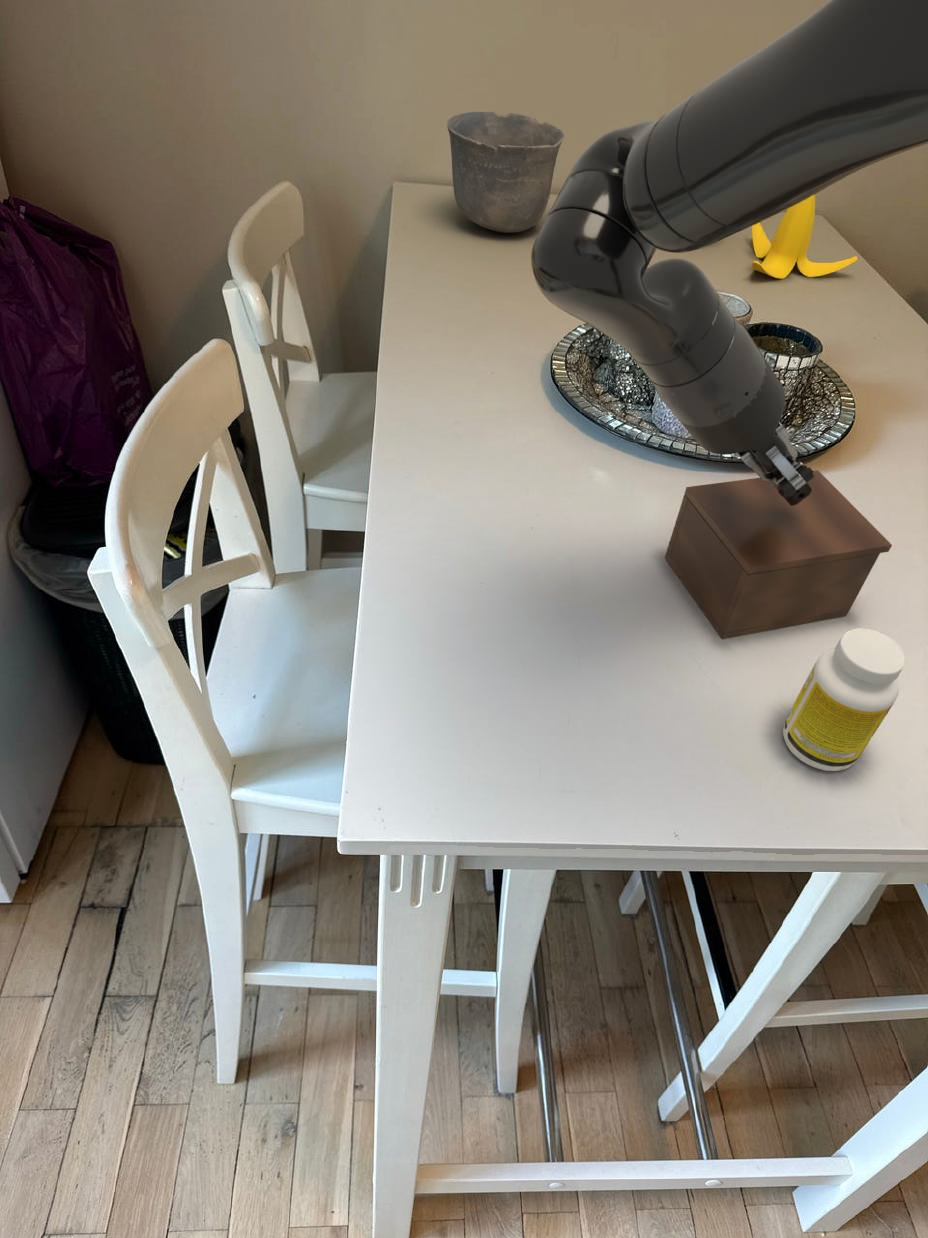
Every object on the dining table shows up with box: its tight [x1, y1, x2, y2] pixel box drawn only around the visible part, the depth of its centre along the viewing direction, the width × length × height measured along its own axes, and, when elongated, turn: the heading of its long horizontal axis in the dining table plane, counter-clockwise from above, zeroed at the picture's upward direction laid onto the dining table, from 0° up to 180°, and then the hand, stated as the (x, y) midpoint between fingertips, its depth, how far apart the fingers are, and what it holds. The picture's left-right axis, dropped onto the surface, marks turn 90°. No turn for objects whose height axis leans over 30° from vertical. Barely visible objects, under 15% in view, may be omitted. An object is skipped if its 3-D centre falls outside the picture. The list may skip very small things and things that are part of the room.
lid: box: [684, 469, 893, 574], centre depth 80 cm, size 14×12×1 cm
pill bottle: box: [782, 627, 906, 772], centre depth 68 cm, size 6×6×11 cm
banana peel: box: [751, 194, 858, 280], centre depth 136 cm, size 16×19×17 cm
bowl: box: [446, 111, 565, 234], centre depth 141 cm, size 18×18×15 cm
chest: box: [664, 494, 881, 640], centre depth 83 cm, size 14×12×8 cm
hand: (797, 494), depth 78 cm, fingers closed
